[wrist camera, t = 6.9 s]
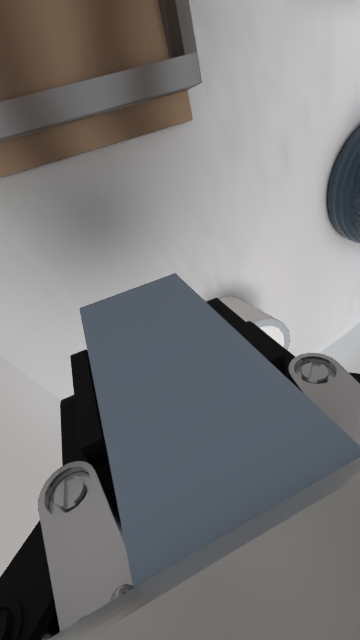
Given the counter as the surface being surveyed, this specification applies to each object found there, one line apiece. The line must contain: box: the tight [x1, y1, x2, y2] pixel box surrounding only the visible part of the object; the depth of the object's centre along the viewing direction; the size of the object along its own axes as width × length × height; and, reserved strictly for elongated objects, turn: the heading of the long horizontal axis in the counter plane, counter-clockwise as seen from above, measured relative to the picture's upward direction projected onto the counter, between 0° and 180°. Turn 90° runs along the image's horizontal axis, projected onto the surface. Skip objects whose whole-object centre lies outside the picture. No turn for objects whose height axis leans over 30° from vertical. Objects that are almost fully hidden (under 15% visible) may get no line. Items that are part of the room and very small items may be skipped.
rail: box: [0, 0, 202, 178], centre depth 14 cm, size 20×12×10 cm, turn 104°
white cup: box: [219, 296, 290, 350], centre depth 31 cm, size 7×7×7 cm
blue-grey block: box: [80, 273, 360, 588], centre depth 9 cm, size 5×4×9 cm
